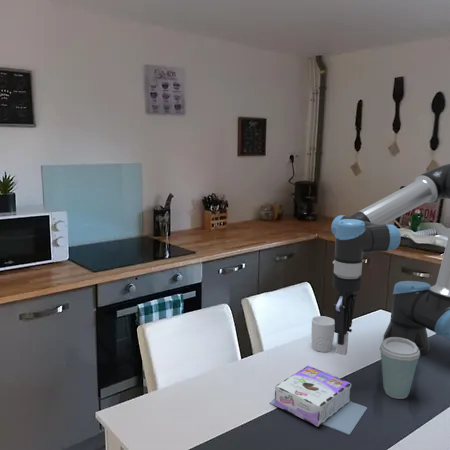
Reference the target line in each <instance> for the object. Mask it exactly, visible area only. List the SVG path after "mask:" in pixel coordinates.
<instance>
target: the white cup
mask: <svg viewBox="0 0 450 450" xmlns="http://www.w3.org/2000/svg"><path fill="white" fill-rule="evenodd" d="M334 331H335V323H334V318H332V317H328V316H323V315H317V316H314V317H312V318H311V348H312V350H314V351H317V352H320V353H328V352H330V351H332V349H333V343H334V342H333V341H334V336H335V332H334Z"/></svg>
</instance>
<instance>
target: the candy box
mask: <svg viewBox="0 0 450 450" xmlns="http://www.w3.org/2000/svg"><path fill="white" fill-rule="evenodd" d="M351 391H352V383H351V382H349V381H346V380H345V379H342V378H339V377H337V376H335V375H333V374H330V373H327V372H325V371H323V370H320V369H318V368H315V367H313V366H310V365H306V366H305V367H304V368H302V369H300V370H299V371H297V372H296V373H294V374H293V375H291V376H289V377H288V378H286V379H284V380H283V381H281V382H279V383H278V384H276V385H275V386H274V398H275V402H274V405H276V406H278V407H277V408H279V407H280V408H279V409H281V408H282V410H283V411H286V412H288V413H290V414H292V415H293V416H296V417H297V418H300V419H302V420H304V421H306V422H308V423H310V424H312V425H314V426H316V427H320V426H322V423H323V422H325V421H326V420H327V419H328V418H330V417H331V416H332V415H333V414H335V413H336V412H337V411H339V410H340V409H341V408H342V407H344V406H345V405H346V404H347V403H349V401H351ZM274 405H273V406H274ZM276 406H275V407H276Z"/></svg>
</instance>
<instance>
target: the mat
mask: <svg viewBox="0 0 450 450" xmlns="http://www.w3.org/2000/svg"><path fill="white" fill-rule="evenodd" d="M274 402H275V397H274V398H272V400H271V401H270V402H269V404H270V405H272V406H274V407H276V408H279V409H282V408H280V407H278V406H276V405H274ZM282 410H283V409H282ZM367 410H368V407H367V406H364V405H362V404H359V403H357V402H353V401H351V400H350V401H349V403H347V404H346V405H345V406H344V407H342V408H341V409H340V410H339V411H337V412H336V413H335V414H333V415H332V416H331V417H330V418H328V419H327V420H326V421H325V422H323V423H322V424H321V426H324V427H325V426H326V427H327V428H329V429H332V430H334V431H337V432H339V433H343V434H345V435H346V436H350V435H351V434H352V433H353V431H354V429H355V428H356V426H357V424H359V422H360V420H361V419H362V418H363V415H364V414H365V413H366V411H367Z"/></svg>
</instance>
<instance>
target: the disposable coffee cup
mask: <svg viewBox="0 0 450 450" xmlns="http://www.w3.org/2000/svg"><path fill="white" fill-rule="evenodd" d="M379 351H380V361H381V374H382V383H383V390H384V393H385V394H386V395H387V396H389V397H390V398H392V399H397V400H404V399H407V398H408V396H409V395H410V391H411V388H412V383H413V381H414V376H415V373H416V369H417V364H418V361H419V358H420V356H421V355H420V351H419V349H418V347H417V346H416V344H415V343H414V342H412V341H410V340H408V339H404V338H399V337H390V338H387V339H384V341H383V340H382V343H381V344H380V345H379Z"/></svg>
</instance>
